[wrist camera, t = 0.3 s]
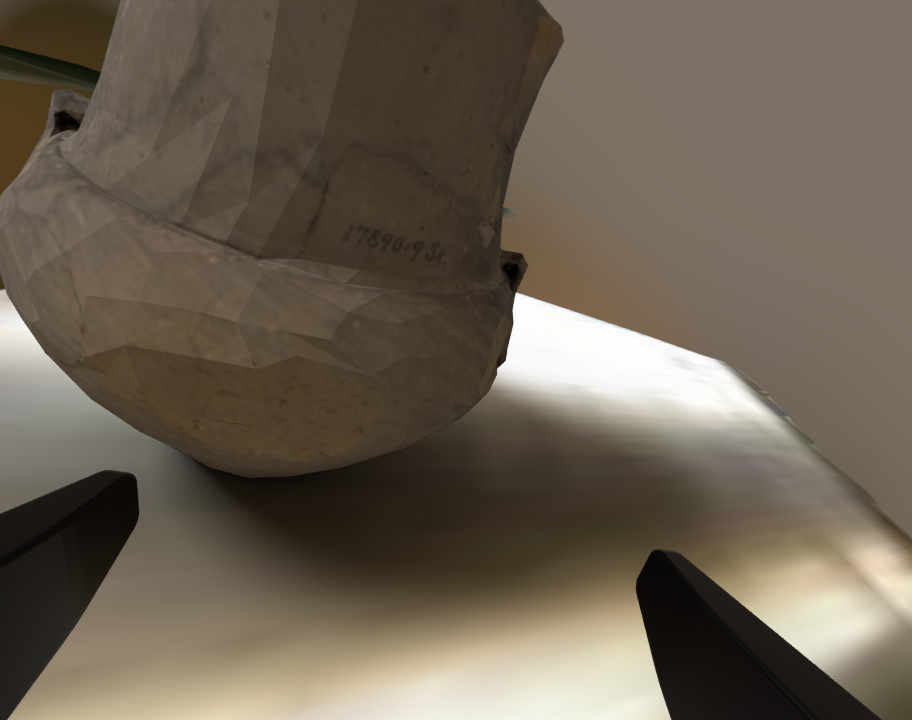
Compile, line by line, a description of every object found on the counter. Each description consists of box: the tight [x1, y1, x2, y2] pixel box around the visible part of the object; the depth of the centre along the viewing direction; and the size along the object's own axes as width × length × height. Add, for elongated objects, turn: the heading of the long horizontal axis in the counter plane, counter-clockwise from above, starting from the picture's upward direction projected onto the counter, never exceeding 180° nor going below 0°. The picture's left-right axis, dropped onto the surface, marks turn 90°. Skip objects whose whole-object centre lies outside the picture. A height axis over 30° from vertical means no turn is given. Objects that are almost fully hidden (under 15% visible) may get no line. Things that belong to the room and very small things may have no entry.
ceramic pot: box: [0, 0, 564, 478], centre depth 28 cm, size 28×28×30 cm
